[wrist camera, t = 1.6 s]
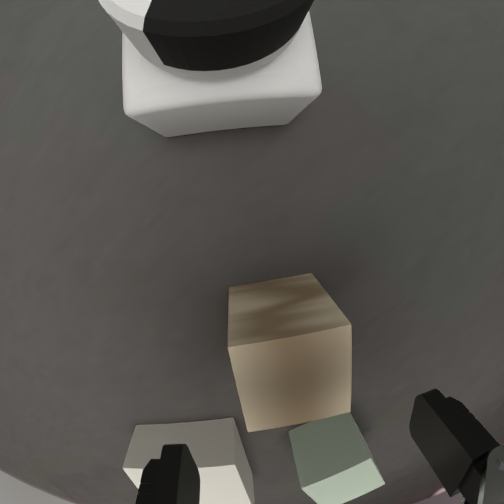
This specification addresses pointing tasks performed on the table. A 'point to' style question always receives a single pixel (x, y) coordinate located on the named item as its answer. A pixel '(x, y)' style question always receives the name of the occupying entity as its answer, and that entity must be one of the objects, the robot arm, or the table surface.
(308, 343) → the maple block
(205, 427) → the cream base block
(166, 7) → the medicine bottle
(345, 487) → the sage block
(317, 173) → the table surface
